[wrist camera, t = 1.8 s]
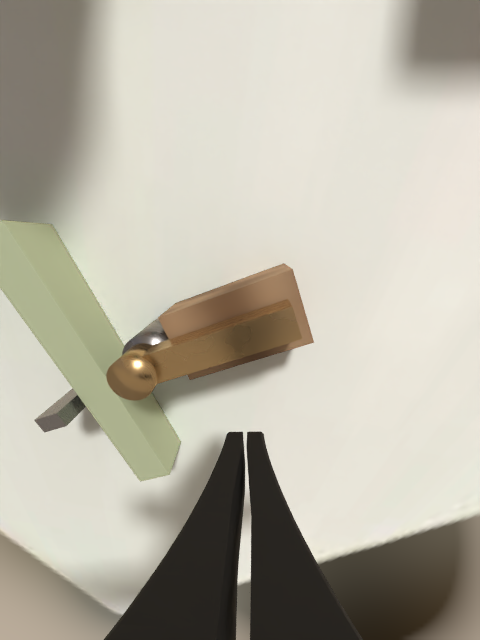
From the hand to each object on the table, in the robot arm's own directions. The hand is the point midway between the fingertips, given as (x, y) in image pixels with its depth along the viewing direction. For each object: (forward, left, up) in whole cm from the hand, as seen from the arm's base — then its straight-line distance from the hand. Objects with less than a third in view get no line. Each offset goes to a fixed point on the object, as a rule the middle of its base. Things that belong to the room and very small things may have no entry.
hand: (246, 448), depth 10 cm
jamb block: (0, +4, -9) cm, 10 cm away
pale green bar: (-12, +4, -9) cm, 15 cm away
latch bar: (-2, +4, -5) cm, 7 cm away
